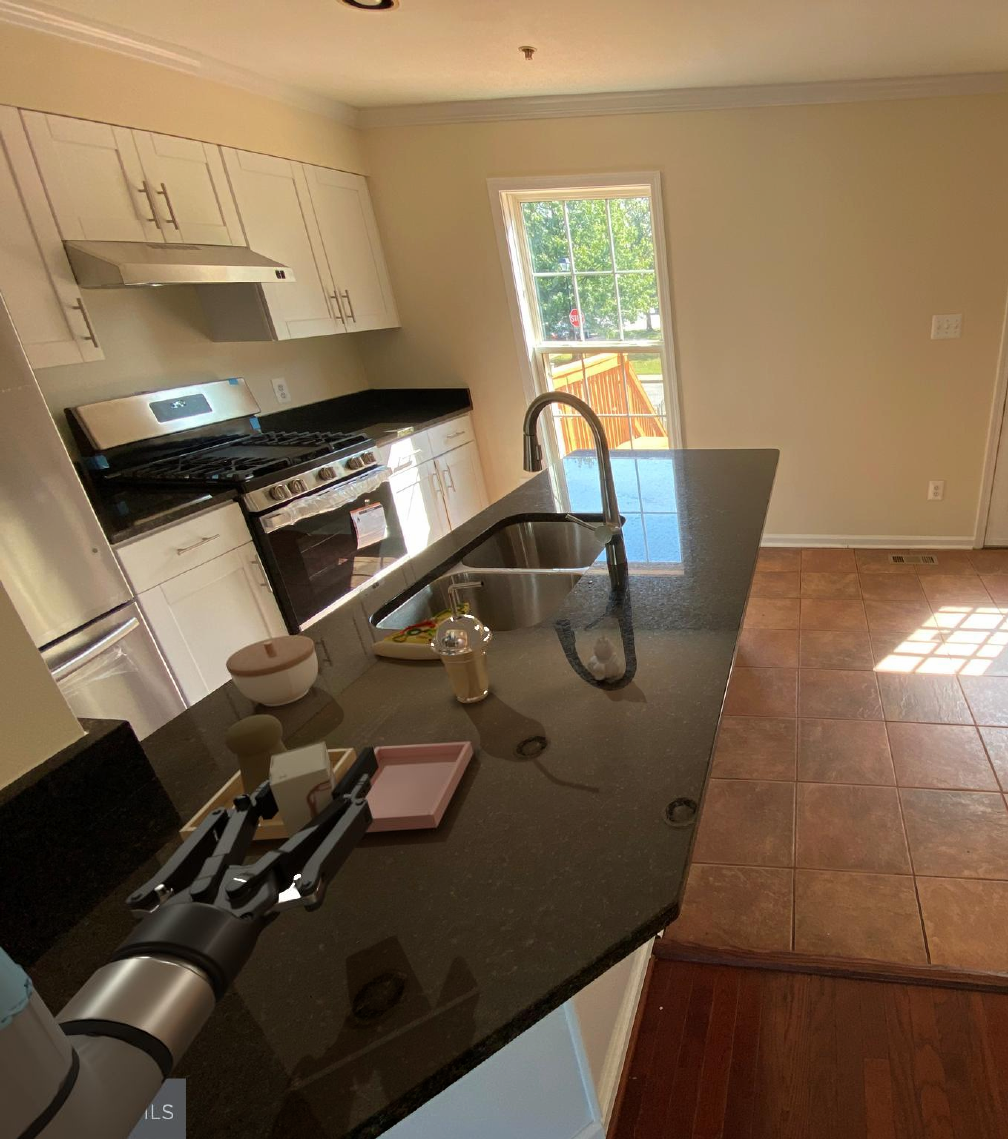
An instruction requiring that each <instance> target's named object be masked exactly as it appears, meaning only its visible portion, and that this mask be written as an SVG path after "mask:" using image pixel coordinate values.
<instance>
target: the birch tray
mask: <svg viewBox="0 0 1008 1139" xmlns="http://www.w3.org/2000/svg"><path fill="white" fill-rule="evenodd" d="M327 751H328V755H329V758H330V761H331V765H332V768H333V771H334V774H335V778H336V781H337V784H338V783H339V782H340V780H341V779H342V778H343V776H344V775H345V774H346V772H347V771H348V770H349V768H350V767H351V766H352V764H353V763H354V762H355V760H356V759H357V758H358V756H357V755H356V751H355V748H354V747H350V748H349V747H347V748H332V749H331V748H330V749H327ZM241 794H244V788H243V783H242V778H241V772H240V769H239V770H238V771H237V772H236V773H235V774H234V775H233V776H232V777H231V778H230V779H229V780H228V781H227V782H226V783H225V784H224V785H223V786H222V787H221V788H220V790H218V791H217V792H216V793H215V794H214V795H213V796H212V797H211V798H210V800H208V801H207V802H206V803H205V804H204V805H203V807H202V808H201V809H200V810H198V811H197V813H196V814H195V815H194V816H193V817H192V818H191V819H190V820H189V821H188V822H187V823H186V824H185V825H184V826H183V827H182V828H181V829H180V830H179V831H178V832H179V835H180V837H181V839H182V842H184V841H185V840H186V839H187V838H188V837H189V836H190V834H191V833H192V832H193V831H194V830H195V829H196V827H197V826H198V825H199V824H200V823H201V822H202V821H203V819H204V818H205V817H206V816H207V815H208V814H209V812H211V811H212V810H213V809H215V808H218V807H225V808H226V810H228V809H232V808H235V805H234V803H233V799H234V798H235V797H237V796H239V795H241ZM259 821H260V823H259V825H258V828H257V830H256V833H255V835H254V837H253V840H252V841H260V840H275V839H289V837H288V834H287V831H286V828H285V826H284V823H283V820H282V818H281V815H280V812H279V811H278V812H277V814H276V815H275V816H274V817H273V819H270V820H263V818H262V816H260V817H259ZM214 832H215V829H214Z"/></svg>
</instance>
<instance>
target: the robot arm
mask: <svg viewBox="0 0 1008 1139" xmlns="http://www.w3.org/2000/svg"><path fill="white" fill-rule="evenodd" d="M374 749H375V748H374V746H365V747H364V748H363V749H362V750H361V752H360V754H359V755H358V756H357V759H356V760H355V762H354V763H353V764H352V766H351V767H350V768H349V770H348V771H347V772H346V774H345V775H344V776H343V778H342V779H341V780H340V782H339V783H338V785H337V786H336V787H335V789H334V790H333V791H332V793H331V794H332V797H333V800H334V801H333V802H332V803H330V804H329V805H328V806H327V807H326V808H325V809H324V810H322V811H321V812H320V813H319V814H318V815H317V816H316V817H314V818H313V819H312V820H311V821H310V822H309V823H308V824H306V825H305V826H304V827H303V828H302V829H301V830H300V831H298V832H297V833H296V834H295V835H294V836H293V837H292V838H290V839H289V838H288V840H287V841H286V842H285V843H283V844H282V845H281V846H280V847H279V848H277V849H270V850H268V852H266V853H265V854H264V855H263V856H261V858H259V859H258V860H257V861H256V862H255V863H252V864H247V865H243V864H244V862H245V859H246V857H247V855H248V852H249V850H250V848H251V847H250V846H251V845H252V842H253V841H254V840H253V837H254V835H255V833H256V830H257V828H258V825H259V823H260V821H259V817H260V816H262V818H263V820H270V819H273V817H274V816H275V815H276V814H277V812H278V811H279V809H278V806H277V804H276V801H275V798H274V795H273V793H272V790H271V787H270V780H266V781H265V782H263V783H262V784H261V785H260V786H259V787H258V789H256V790H255V792H253V794H252V795H251V796H249V795H248V794H241V795H239V796H237V797H235V798H234V799H233V803H234V805H235V808H232V809H228V810H226V808H225V807H218V808H215V809H213V810H212V811H211V812H209V814H208V815H207V816H206V817H205V818H204V819H203V821H202V822H201V823H200V824H199V825H198V826H197V827H196V829H195V830H194V831H193V832H192V833H191V834H190V836H189V837H188V838H187V839H186V840H185V841H182V843H181V844H180V846H178V848H177V849H176V850H175V852H174V853H173V854H172V855H171V856H170V858H169V859H167V861H166V862H165V863H164V864H163V865H162V866H161V868H160V869H159V870H158V871H157V872H156V874H155V875H154V876H153V877H152V878H150V879H149V880H148V881H146V882H145V883H144V884H142V886H140V887H139V888H137V889H136V890H135V891H134V892H132V893H131V894H130V895H129V896H128V897H127V898H126V899H125V904H126V905H127V907H128V910H130V912H131V914H132V916H133V918H134V920H135V921H136V923H137V925H136V926H135V927H134V929H132V931H131V932H130V933H129V934H128V935H127V936H126V937H125V939H123V941H122V942H121V943H120V944H119V945H118V947H117V948H116V949H115V950H114V951H112V953H111V954H110V955H109V956H108V957H107V959H106V961H105V963H104V964H103V965H104V966H102V967H100V968H98V969H96V970H95V971H94V973H93V974H92V975H91V976H90V978H88V980H87V981H85V983H84V984H83V986H81V987H80V989H79V990H78V991H77V992H76V993H75V995H74V996H72V998H71V999H70V1000H69V1001H68V1002H67V1004H66V1005H65V1006H63V1008H62V1009H61V1010H60V1011H59V1012H58V1013H57V1015H56V1016H55V1017H54V1015H53V1014H52V1012H51V1011H50V1010H49V1008H48V1007H47V1005H46V1004H45V1002H44V1000H43V999H42V997H41V996H40V994H39V993H38V991H37V990H36V989H35V987H34V985H33V981H32V979H31V977H30V976H29V975H28V973H26V972H25V971H24V969H23V967H22V965H21V964H17V963H15V961H14V960H13V959H12V958H11V957H10V955H8V953H7V952H6V951H5V950H4V949H3V947H2V946H1V945H0V1139H128V1138H129V1137H130V1135H131V1133H132V1132H133V1130H134V1129H135V1127H136V1126H137V1125H138V1123H139V1122H140V1120H141V1119H142V1117H143V1116H144V1114H145V1113H146V1111H147V1110H148V1108H149V1107H150V1105H151V1104H152V1102H153V1101H154V1100H155V1098H156V1096H157V1095H158V1093H159V1092H160V1091H161V1088H162V1087H163V1085H164V1084H165V1082H166V1080H167V1079H168V1077H169V1076H170V1075H171V1074H172V1072H173V1071H174V1069H175V1068H176V1067H177V1066H178V1063H179V1062H180V1061H181V1059H182V1058H183V1056H184V1055H185V1053H186V1052H187V1050H188V1049H189V1047H190V1046H191V1044H192V1043H193V1042H194V1040H195V1038H196V1037H197V1035H198V1034H199V1033H200V1031H201V1030H202V1028H203V1027H204V1025H205V1024H206V1023H207V1021H208V1019H209V1018H210V1016H211V1015H212V1013H213V1011H214V1009H215V1007H216V1004H217V1003H218V1002H220V1001H221V1000H222V999H223V998H224V997H225V995H226V994H227V992H228V991H229V989H230V987H232V985H233V983H234V981H235V980H236V979H237V977H238V976H239V974H240V973H241V971H242V970H243V969H244V967H245V965H246V964H247V963H248V961H249V960H250V958H251V956H252V955H253V952H254V950H255V947H256V944H257V942H258V939H259V937H260V935H261V933H262V932H263V931H264V930H265V929H266V928H267V927H269V925H271V923H273V922H274V921H276V919H277V918H279V916H280V915H281V914H282V912H284V911H287V910H291V909H295V908H298V907H302V906H303V907H304V910H305V911H306V912H308V913H310V912H312V913H313V912H315V911H317V910H319V909H320V908H321V907H322V906H323V904H324V902H325V898H326V893H327V890H328V886H329V885H330V884H331V882H332V881H333V879H334V878H335V876H336V875H337V873H338V872H339V871H340V869H342V867H343V865H344V864H345V862H346V861H347V859H348V858H349V856H350V855H351V853H352V852H353V851H354V850H355V848H356V846H357V845H358V844H359V842H360V841H361V839H363V837H364V835H365V833H367V832H366V831H367V829H368V828H369V826H370V825H371V824H372V822H373V817H372V814H371V810H370V807H369V804H368V801H367V799H366V798H365V797H366V795H367V794H368V792H369V791H370V790H371V787H372V785H371V781H370V780H371V778H372V777H373V775H374V774H375V772H376V771H377V770H378V768H379V766H378V763H377V759H376V756H375V753H374ZM214 829H215V832H214ZM300 872H301V873H300Z"/></svg>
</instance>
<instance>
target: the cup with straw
mask: <svg viewBox="0 0 1008 1139" xmlns="http://www.w3.org/2000/svg"><path fill="white" fill-rule="evenodd" d="M484 585H485V584H484V581H482V580H481V581H473V582H463V583H452V584H451V585H449V586H448V588H447V593H448V597H449V602H450V608H452V612H453V616H451V617H448V618H447V619H445V620H444V621H443V622H442V623H441V624H440V625H439V626H438V629H437V631H436V634H435V636H434V637H433V638H432V640H431V649H432V651H434V652H435V653H437V654H439V656H440V658H441V659H440V660H441V662H442V663H443V664H444V667H445V670H446V672H447V675H448V678H449V681H450V683H451V686H452V688H453V691H454V693H455V695H456V699H457V700H458V702H460V703H462V704H472V703H477V702H479V701H482V700H483V699H485V698H486V697H487V696H488V695H489V689H488V688H489V674H488V648H489V643H490V642H491V641H492V638H493V633H492V632H491V629H490V628H489V627H488V626H486V625H484V624H483V623H482V621H481V620H480V619H479V618H477V617H476V616H474V615H471V614H468V615H467V614H458V611H457V606H456V604H457V602H456V597H455V590H458V589H466V588H467V589H468V588H478V587H484Z"/></svg>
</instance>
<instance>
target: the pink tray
mask: <svg viewBox="0 0 1008 1139" xmlns="http://www.w3.org/2000/svg"><path fill="white" fill-rule="evenodd" d="M373 749H374V753H375V756H376V759H377V763H378V766H379V768H378V770H377V771H376V772H375V774H374V775H373V777H372V778H371V780H370V781H371V785H372V787H371V790H370V791H369V792H368V794H367V795H366V797H365V798H366V799H367V801H368V804H369V807H370V810H371V814H372V817H373V822H372V824H371V825H370V826H369V828H368V829H367V831H366V832H365V833H377V832H390V831H402V830H403V831H405V830H406V831H407V830H419V829H420V830H421V829H431V828H432V829H433V828H435V829H436V828H438V826H439V824H440V822H441V819H442V818H443V815H444V813H445V812H446V810H447V808H448V805H449V804H450V802H451V800H452V797H453V795H454V793H455V791H456V789H457V787H458V786H459V784H460V781H461V779H462V777H463V775H464V773H465V771H466V769H467V767H468V765H469V762H470V761H471V758H472V757H473V754H474V751H473V745H472V742H471V741H455V742H454V741H453V742H439V743H438V742H437V743H420V744H419V743H418V744H401V745H385V746H382V745H381V746H376V747H375V748H373Z"/></svg>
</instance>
